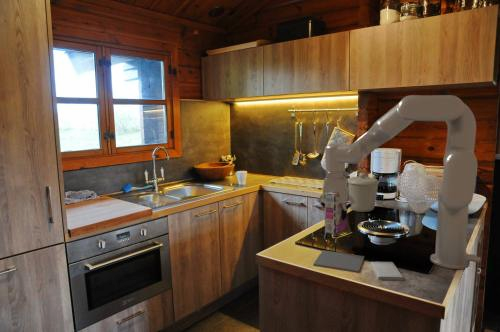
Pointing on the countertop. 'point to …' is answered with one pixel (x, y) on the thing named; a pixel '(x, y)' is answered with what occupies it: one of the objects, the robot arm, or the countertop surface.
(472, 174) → the robot arm
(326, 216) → the candy bar box
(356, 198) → the canister
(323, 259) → the mat
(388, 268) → the hard drive
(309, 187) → the countertop surface
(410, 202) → the heart
